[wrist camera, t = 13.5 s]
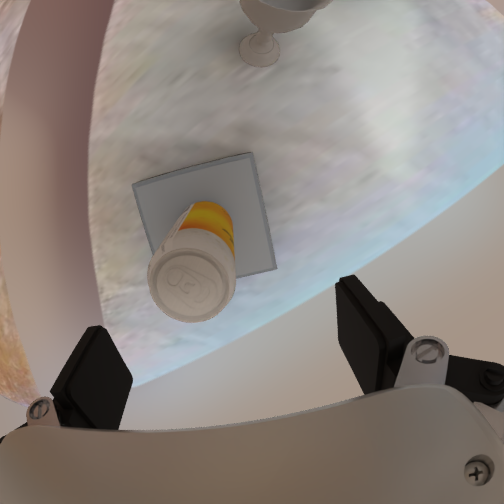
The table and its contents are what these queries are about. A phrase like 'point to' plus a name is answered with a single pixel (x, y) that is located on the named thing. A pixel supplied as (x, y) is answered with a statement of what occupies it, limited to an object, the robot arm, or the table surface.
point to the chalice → (273, 26)
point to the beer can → (195, 265)
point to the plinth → (217, 191)
